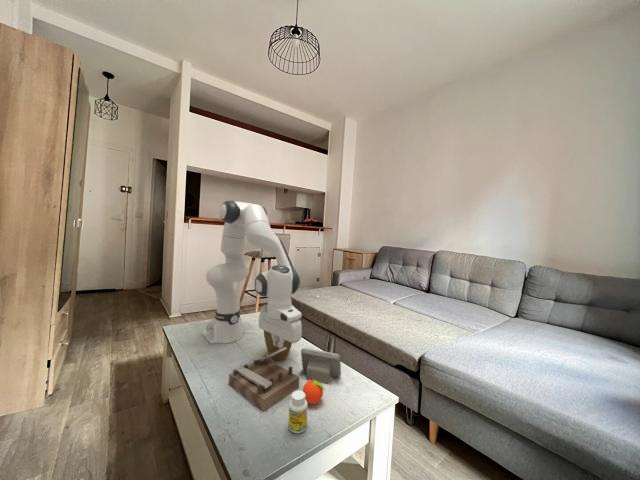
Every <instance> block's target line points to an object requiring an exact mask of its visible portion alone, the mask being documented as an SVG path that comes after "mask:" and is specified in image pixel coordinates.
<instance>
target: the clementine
mask: <svg viewBox="0 0 640 480" xmlns="http://www.w3.org/2000/svg"><path fill="white" fill-rule="evenodd" d="M302 391H303V392H304V393H305V400H306V401H307V404H311V405H315V404H317V403H319V402H320V401H321V400H322V398H323V395H324V392H325V393H326V390H325V388H324V386H323V385H322V384H321V382H318V381H316V380H308V381H307V382H306V383H305V384H304V385H303V388H302Z"/></svg>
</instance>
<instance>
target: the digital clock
mask: <svg viewBox="0 0 640 480" xmlns="http://www.w3.org/2000/svg"><path fill="white" fill-rule="evenodd" d="M300 356H301V366H302V370H303V371H304V372H306V380H308V381H310V380H316V381H318V382H319V383H323V384H327V385H328V384H330V381H331V380H332V379H331V378H335V379H336V378H337V379H338V378H340V377H341V374H342V372H341V371H342V369H341V366H342V365H341V356H340V355H339V354H338V353H333V352H330V351H326V350H325V351H324V350H319V349H313V348H307V347H304V348H303V347H302V348H301V349H300Z"/></svg>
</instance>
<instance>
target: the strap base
mask: <svg viewBox="0 0 640 480" xmlns="http://www.w3.org/2000/svg"><path fill="white" fill-rule="evenodd" d="M266 356H267V355H265V354H264V355H263V357H261V358H259V359H253V361H252V362H251V363H249V364H247V363H245V364H243V367H245V368H247V369H248V370H250V371H252V372H254V373H256V374H258V375H259V376H261V377H263V378H265V379H267V380H269V381H271V382H272V385H271V386H269V387H267V388H266V389H264V388H262V385H261V384H259V385H257V384H255V383H254V382H252V381H250V380H249V379H247V378H245V377H243V376H242V375H240V374H238V373H237V370H239V369H241V368H243V367H241V368H238V369H236V368H235V369H233V370H232V372H229V373H228V385H229V386H230V387H231V388H233V389H234V390H235V391H236V392H238V393H239V394H241V395H242V396H243V397H244V398H245V399H246V400H248V401H249V402H250V403H252V404H253V405H254V406H255V407H257V408H258V409H259V410H261V412H265V411H266V410H268V409H270V408H271V407H273V406H274V405H275V404H277V403H278V402H279V401H281V400H283V399H284V398H286V396H288V395H289V394H292V393H293V392H295V391H297V389H298V388H299V387H300V385H299V384H300V376H299V375H296V373H293V369H294V367H293V366H291V365H290V366H288V369H286V368H285V367H282V366H281V365H279V364H277V362H275V361H272V360H271V359H270V358H267V359H265V360H263V361H260V362H258V360H260V359H262V358H264V357H266Z"/></svg>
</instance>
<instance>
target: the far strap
mask: <svg viewBox="0 0 640 480" xmlns="http://www.w3.org/2000/svg"><path fill="white" fill-rule="evenodd" d="M285 349H287V348H286V347H284V348H282V349H280V350H278V351H276V352H274V353H272V354H270V355H269V354H268V355H266V357H264V358H263V357H261V358H262V359H261V358H259V359H260V360H259V359H257V360H258V362H260V361H263V360H265V359H270V357H271V356H273V355H275V354H277V353H279V352H281V351H283V350H285Z"/></svg>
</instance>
